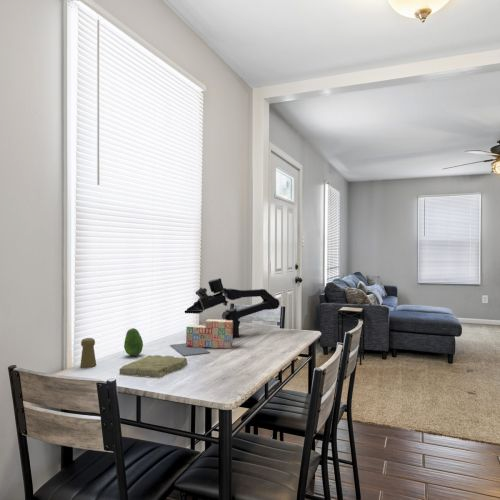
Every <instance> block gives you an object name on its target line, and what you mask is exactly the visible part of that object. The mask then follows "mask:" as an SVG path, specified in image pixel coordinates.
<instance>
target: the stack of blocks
mask: <svg viewBox="0 0 500 500" xmlns="http://www.w3.org/2000/svg"><path fill="white" fill-rule="evenodd" d="M185 327H186V329H185V330H186V333H185V335H186V336H185V340H186V341H185V343H186V346H193V347H202V348H213V349H214V348H216V349H217V348H218V349H232V347H233V320H223V319H211V318H210V319H209V318H208V319H206V320H205V325H201V324H189V325H187V326H185Z"/></svg>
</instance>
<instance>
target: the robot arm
mask: <svg viewBox="0 0 500 500" xmlns="http://www.w3.org/2000/svg"><path fill="white" fill-rule="evenodd" d="M207 284H208V286H209V290H210V292H211V293H213V294H212V295H211V294H210V295H208V294H207V293H208V291H207V288H206V287H200V288H198V290H196V291H195V294H196V296H198V299H197V300H196V302H194V303H193V304H192V305H191V306H189V307H188V308H186V310H185V311H184V312H183V313H185V314H193V315H194V314H196V315H197V314H201V313H203V312H204V311H207V310H208V309H210V308H211V309H212V308H214V307H216V306H219V305H221V304H222V305H223V306H225V307H227V306H228V303H229V301H227V300H230V301H237V300H239V299H242V298H252V297H253V298H255V297H260V298H261V299H262V301H261V302H259V303H257V304H253V305H250V306H245V307H242V308H240V309H237V308H235V307H231V308H229V309H225V310H224V311H223V312H222V314H221V320H233V338H234V339H235V338H240V337H241V335H240V324H241V321H240V319H241V318H243V317H246V316H249V315H251V314H252V315H253V314H256V313H259V312H263V311H267V310H270V311H271V310H276V309H279V306H280V305H281V304H280V300H279V299H278V298H275V297H274V296H273V295H272V294H271V293H269V292H268V290H266V289H263V288H259V289H257V288H256V289H235V288H231V287H230V288H226V287H224V285H223V281H222V279H221V278H220V277H218V278H216V279H211V280H208V283H207Z"/></svg>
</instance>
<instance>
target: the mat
mask: <svg viewBox="0 0 500 500" xmlns="http://www.w3.org/2000/svg"><path fill="white" fill-rule="evenodd" d="M169 347H170V348H172V349H174V351H176V352H177V353H179V354H180V355H181V356H182V357H189V356H199V355H207V354H211V352H210V351H209V350H207V349H205V347H193V346H186V342H183V343H175V344H170V345H169Z"/></svg>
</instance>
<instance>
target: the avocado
mask: <svg viewBox="0 0 500 500" xmlns="http://www.w3.org/2000/svg"><path fill="white" fill-rule="evenodd" d="M123 347H124V351H125V352H126V354H128V355H129V356H133V357H134V356H135V357H136V356H139V355H140V354H141V353H142V352H143V347H144V343H143V339H142V336H141V334H140V332H139V330H137V329H136V328H130V329H128V330H127V332H126V333H125V338H124V345H123Z"/></svg>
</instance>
